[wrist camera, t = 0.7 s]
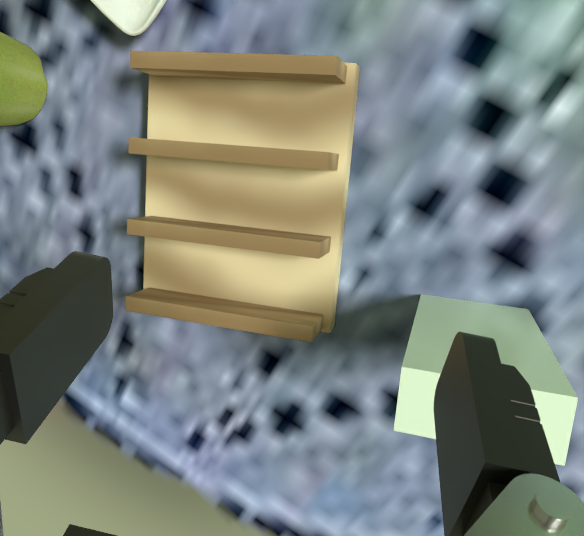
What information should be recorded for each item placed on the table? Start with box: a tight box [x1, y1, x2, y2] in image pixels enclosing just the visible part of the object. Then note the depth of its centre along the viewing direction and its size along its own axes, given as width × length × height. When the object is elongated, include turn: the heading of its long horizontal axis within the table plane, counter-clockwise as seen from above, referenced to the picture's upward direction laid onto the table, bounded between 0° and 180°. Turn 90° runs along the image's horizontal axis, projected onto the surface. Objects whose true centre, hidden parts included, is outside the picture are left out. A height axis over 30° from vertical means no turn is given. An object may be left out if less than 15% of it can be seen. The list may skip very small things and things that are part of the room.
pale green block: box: [394, 294, 578, 466], centre depth 28 cm, size 3×6×14 cm, turn 85°
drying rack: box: [125, 51, 360, 342], centre depth 35 cm, size 17×14×4 cm
